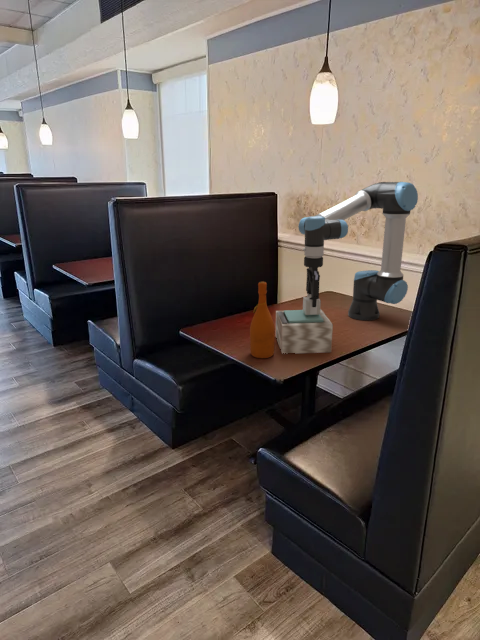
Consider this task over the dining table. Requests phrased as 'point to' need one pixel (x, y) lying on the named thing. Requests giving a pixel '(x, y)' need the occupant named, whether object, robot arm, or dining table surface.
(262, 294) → the wine bottle
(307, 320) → the trapdoor
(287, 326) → the crate
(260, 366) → the dining table surface
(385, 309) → the dining table surface
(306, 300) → the light grey cube
